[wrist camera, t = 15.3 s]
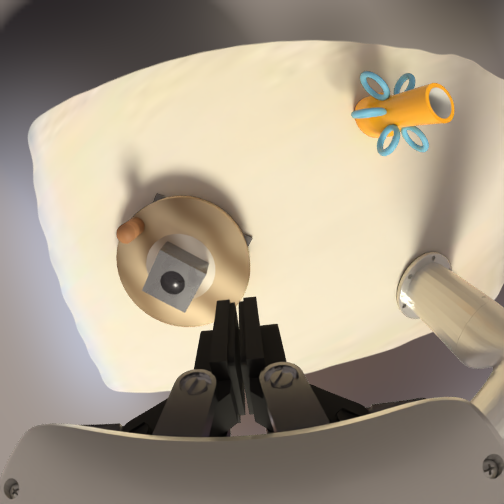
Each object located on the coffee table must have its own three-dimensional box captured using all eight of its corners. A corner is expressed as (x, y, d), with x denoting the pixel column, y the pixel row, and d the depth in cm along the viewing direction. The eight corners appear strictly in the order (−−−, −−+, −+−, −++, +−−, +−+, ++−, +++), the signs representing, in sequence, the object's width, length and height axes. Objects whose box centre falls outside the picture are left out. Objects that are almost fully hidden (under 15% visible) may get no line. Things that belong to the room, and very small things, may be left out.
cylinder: (341, 159, 33) (403, 162, 19) (324, 85, 30) (375, 47, 16) (412, 149, 33) (484, 154, 19) (397, 83, 30) (463, 61, 15)
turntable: (182, 166, 32) (170, 167, 26) (276, 265, 37) (284, 285, 31) (101, 258, 35) (81, 275, 29) (188, 337, 40) (181, 364, 34)
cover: (167, 240, 33) (159, 249, 29) (209, 263, 34) (206, 274, 31) (149, 278, 34) (141, 290, 31) (189, 299, 36) (185, 313, 32)
